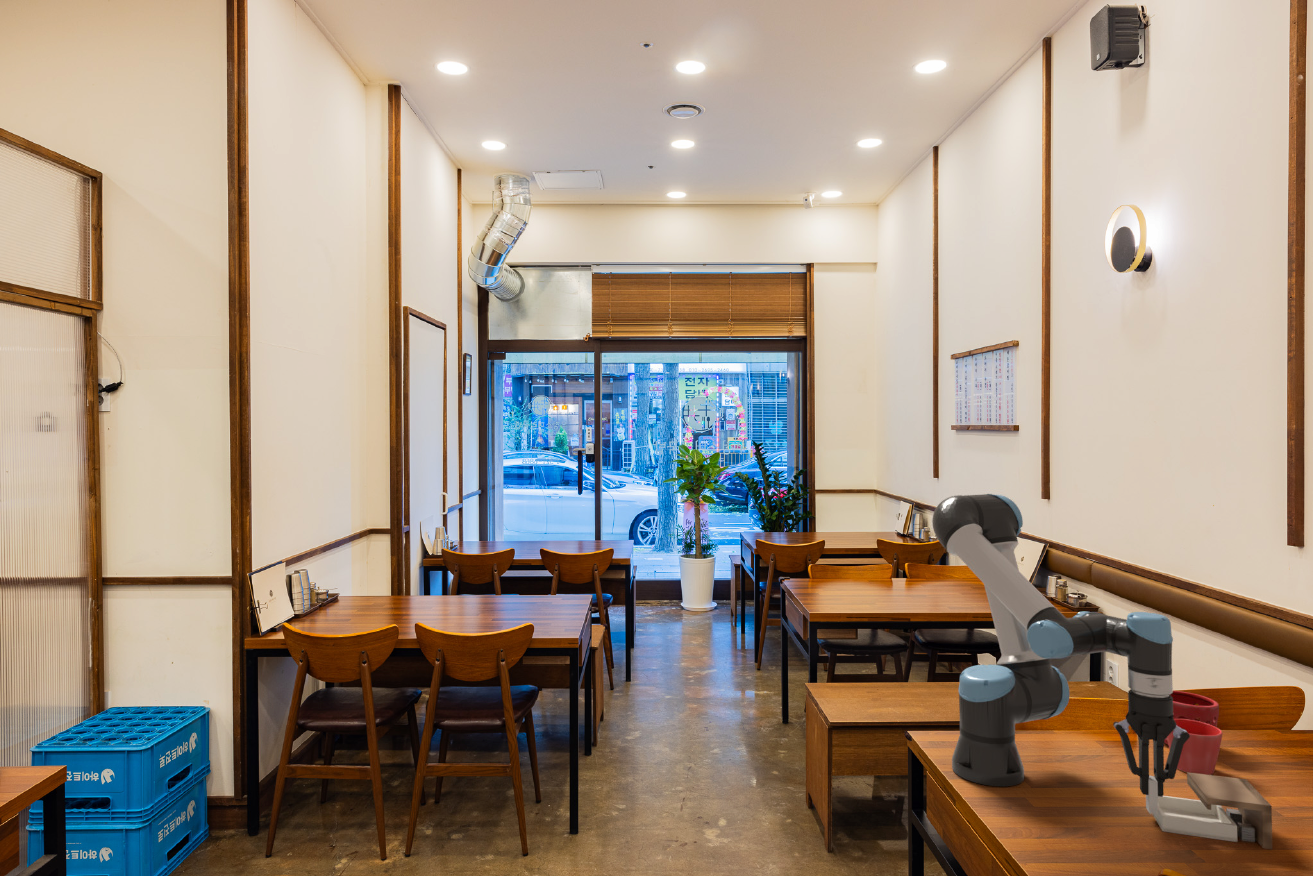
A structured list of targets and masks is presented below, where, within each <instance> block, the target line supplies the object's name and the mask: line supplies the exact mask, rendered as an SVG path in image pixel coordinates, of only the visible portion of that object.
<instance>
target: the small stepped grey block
mask: <svg viewBox="0 0 1313 876" xmlns="http://www.w3.org/2000/svg"><path fill="white" fill-rule="evenodd" d="M1225 812H1226V813H1227V814H1228V815H1229V817H1230V818H1231V819H1232V820H1233V822H1234V823H1235V824H1236V825H1237V837H1239V839H1240V840H1241V841H1242V842H1249V843H1256V839H1255V829H1254V828H1253V827H1252V825H1251V824H1246V823H1242V814H1241V813H1240V811H1239V810H1238V809H1235V808H1234V809H1233V808H1226V809H1225Z"/></svg>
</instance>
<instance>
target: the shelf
mask: <svg viewBox="0 0 1313 876" xmlns="http://www.w3.org/2000/svg"><path fill="white" fill-rule="evenodd" d="M1186 783H1187V785H1188V786H1189V787H1190V789H1191V790H1192V791H1193V793H1194V794H1195V795H1196V797H1197V798H1198V800H1201V802H1202V803H1203V804H1204V806H1205V807H1206V808H1207V809H1208V810H1211V805H1219V806H1221V807H1228V808H1234V809H1235V808H1236V809H1237V810H1239V811H1240V813H1241V814H1242V823H1246V824H1251V825H1252V827H1253V828H1254V829H1255V841H1256V842H1257V843H1258V844H1259V845H1260V846H1261V847H1262V849H1267V850H1273V817H1272V816H1273V813H1272V811H1273V810H1272V805H1271V803H1270V802H1268V800H1267V799H1265V797H1264V796H1263V795H1261V793H1260V792H1259V791H1258V790H1257V789H1256V788H1255V787H1254V786H1253V785H1252V784H1251V782H1249V781H1248V780H1247V779H1246V778H1240V777H1239V778H1238V777H1229V776H1222V775H1214V774H1212V775H1206V774H1197V773H1189V772H1187V773H1186Z"/></svg>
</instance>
